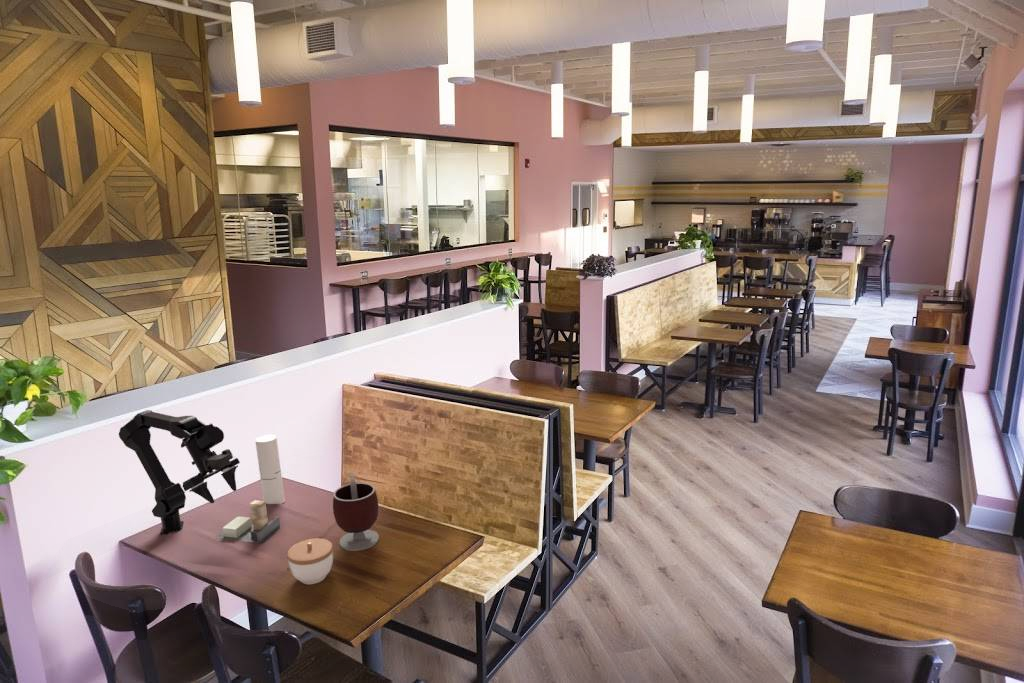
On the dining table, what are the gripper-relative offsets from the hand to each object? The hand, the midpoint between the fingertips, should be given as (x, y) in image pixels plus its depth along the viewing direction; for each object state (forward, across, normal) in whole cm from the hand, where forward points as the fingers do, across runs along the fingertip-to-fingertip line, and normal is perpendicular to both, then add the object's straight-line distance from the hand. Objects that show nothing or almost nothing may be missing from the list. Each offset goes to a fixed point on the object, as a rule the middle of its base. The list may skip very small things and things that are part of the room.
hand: (224, 496), depth 217 cm
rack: (+15, +4, +4) cm, 17 cm away
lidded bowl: (+33, -8, -28) cm, 44 cm away
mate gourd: (+33, +14, -28) cm, 45 cm away
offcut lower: (+12, +4, +7) cm, 15 cm away
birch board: (+16, +5, -1) cm, 17 cm away
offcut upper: (+11, +4, +6) cm, 13 cm away
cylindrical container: (+11, +26, +12) cm, 31 cm away
